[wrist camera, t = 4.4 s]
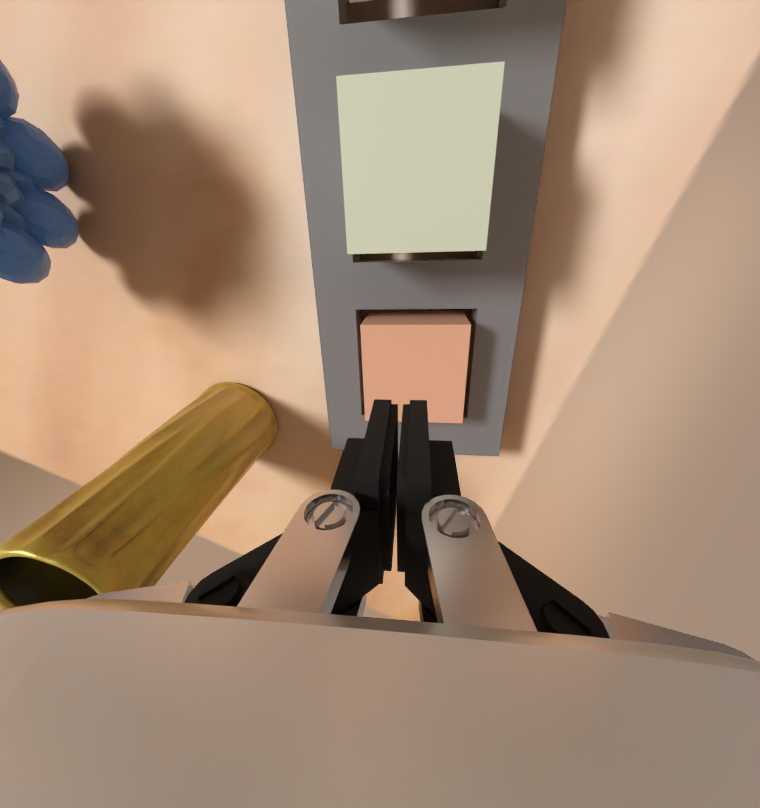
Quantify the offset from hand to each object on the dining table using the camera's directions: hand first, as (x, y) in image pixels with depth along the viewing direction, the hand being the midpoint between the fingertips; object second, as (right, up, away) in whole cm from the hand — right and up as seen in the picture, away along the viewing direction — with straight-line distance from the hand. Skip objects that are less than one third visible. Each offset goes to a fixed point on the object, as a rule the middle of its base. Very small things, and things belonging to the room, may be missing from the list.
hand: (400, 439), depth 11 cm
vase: (-11, 0, +14) cm, 18 cm away
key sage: (+1, +11, +5) cm, 13 cm away
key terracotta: (+2, +4, +11) cm, 12 cm away
